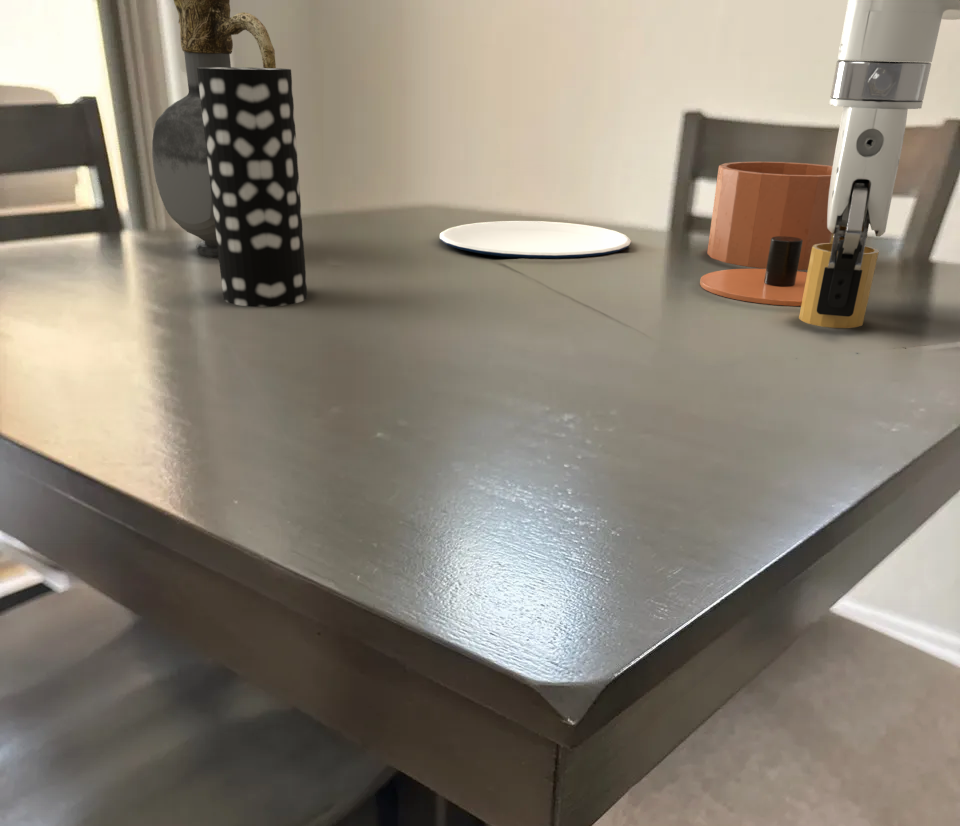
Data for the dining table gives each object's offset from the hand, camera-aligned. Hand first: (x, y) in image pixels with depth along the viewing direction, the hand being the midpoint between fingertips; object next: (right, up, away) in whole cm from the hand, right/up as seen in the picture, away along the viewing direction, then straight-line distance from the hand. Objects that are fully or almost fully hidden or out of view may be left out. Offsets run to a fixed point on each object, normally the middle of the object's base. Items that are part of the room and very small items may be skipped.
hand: (834, 304), depth 92 cm
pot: (+3, +15, +29) cm, 33 cm away
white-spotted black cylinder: (-55, +3, +7) cm, 56 cm away
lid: (-1, +6, +13) cm, 14 cm away
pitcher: (-63, +15, +26) cm, 70 cm away
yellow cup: (0, -2, +1) cm, 2 cm away
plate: (-26, +20, +36) cm, 48 cm away
